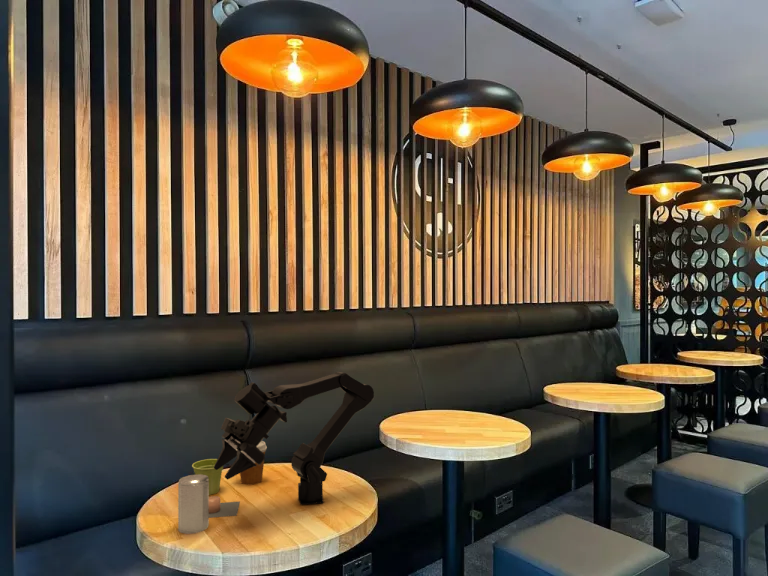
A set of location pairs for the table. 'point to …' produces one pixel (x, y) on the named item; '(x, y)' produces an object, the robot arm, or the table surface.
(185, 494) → the brushed metal canister
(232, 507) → the charcoal mat
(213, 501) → the pink squat rounded piece
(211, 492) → the plant pot
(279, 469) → the table surface
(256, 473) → the disposable coffee cup
